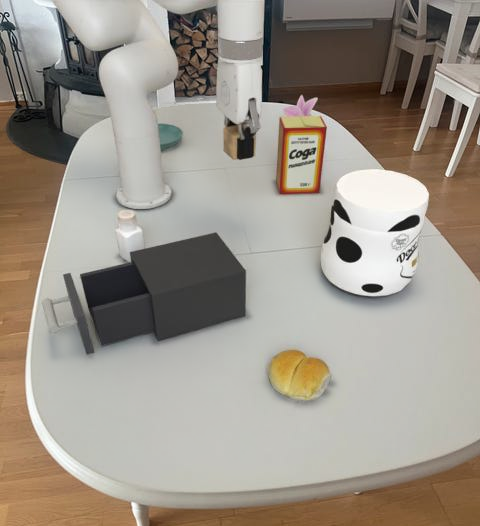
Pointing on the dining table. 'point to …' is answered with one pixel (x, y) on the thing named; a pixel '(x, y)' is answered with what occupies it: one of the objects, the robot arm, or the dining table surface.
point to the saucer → (169, 135)
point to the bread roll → (298, 375)
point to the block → (233, 140)
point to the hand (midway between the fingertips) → (239, 151)
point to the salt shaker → (129, 234)
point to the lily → (300, 108)
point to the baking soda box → (300, 154)
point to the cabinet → (192, 284)
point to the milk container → (374, 232)
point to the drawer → (107, 305)
